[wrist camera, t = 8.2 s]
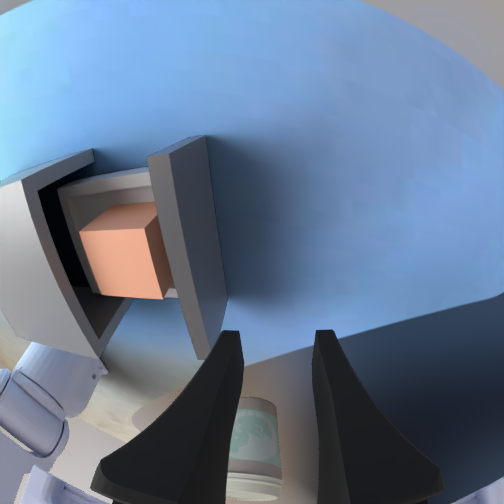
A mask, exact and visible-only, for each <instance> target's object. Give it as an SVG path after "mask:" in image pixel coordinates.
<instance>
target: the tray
mask: <svg viewBox="0 0 504 504" xmlns="http://www.w3.org/2000/svg"><path fill="white" fill-rule="evenodd" d="M147 163H148V167H142V168H136V169H130V170H124V171H118V172H113V173H108V174H102V175H97V176H92V177H88V178H83V179H79V180H74V181H71V182H69V183H67V184H65V185H63V186H62V187H60V188H58V189H57V192H58V195H59V199H60V203H61V206H62V210H63V213H64V216H65V220H66V223H67V226H68V229H69V232H70V235H71V238H72V241H73V244H74V247H75V249H76V252H77V255H78V257H79V260H80V263H81V265H82V268H83V270H84V273H85V275H86V278H87V280H88V282H89V285H90V287H91V289H92V292H93V293H96V294H101V291H100V289H99V286H98V284H97V281H96V279H95V276H94V274H93V271H92V268H91V266H90V263H89V260H88V257H87V254H86V252H85V249H84V246H83V243H82V240H81V236H80V233H79V231H81V230H82V229H83V228H84V227H85V226H87V225H88V224H89V223H90V222H91V221H93V220H94V219H95V218H96V217H98V216H99V215H100V214H101V213H103V212H104V211H105V210H107V209H108V208H109V207H110V206H112V205H121V204H132V203H144V202H155V205H156V210H157V215H158V219H159V224H160V228H161V232H162V237H163V241H164V245H165V249H166V253H167V257H168V261H169V265H170V269H171V273H172V277H173V281H172V283H171V285H170V287H169V289H168V291H167V293H166V295H165V297H171V298H179V302H180V305H181V308H182V312H183V315H184V318H185V322H186V325H187V328H188V331H189V335H190V338H191V341H192V344H193V347H194V350H195V353H196V356H197V359H198V360H205V359H206V358H207V356H208V355H209V353H210V351H211V350H212V348H213V346H214V344H215V343H216V341H217V339H218V337H219V335H220V331H221V326H222V322H223V318H224V314H225V310H226V306H227V301H228V295H227V289H226V282H225V276H224V269H223V263H222V256H221V249H220V242H219V235H218V228H217V221H216V214H215V206H214V199H213V191H212V183H211V175H210V167H209V158H208V150H207V141H206V135H202V136H194V137H189V138H186V139H184V140H182V141H180V142H177V143H175V144H173V145H171V146H169V147H166V148H164V149H162V150H160V151H158V152H156V153H154V154H152V155H150V156H148V157H147Z"/></svg>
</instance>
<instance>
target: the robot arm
mask: <svg viewBox="0 0 504 504" xmlns="http://www.w3.org/2000/svg"><path fill="white" fill-rule="evenodd" d="M243 371H244V359H243V352H242V346H241V339H240V333H239V331H230V330H223V331H222V332H221V333H220V335H219V337H218V339H217V341H216V343H215V344H214V346H213V348H212V350H211V351H210V353H209V355H208V356H207V358H206V359H205V361H204V362H203V364H202V365H201V367H200V368H199V370H198V371H197V373H196V374H195V376H194V377H193V378H192V380H191V381H190V382H189V383H188V385H187V386H186V387H185V389H184V390H183V391H182V392H181V394H180V395H179V396H178V397H177V398H176V399H175V401H174V402H173V403H172V404H171V405H170V406H169V407H168V408H167V409H166V411H164V412H163V413H162V414H161V415H160V416H159V417H158V418H157V419H156V420H155V421H154V422H153V423H152V424H151V425H149V426H148V427H147V428H146V429H145V430H144V431H142V432H141V433H140V434H138V435H137V436H136V437H135V438H133V439H132V440H131V441H129V442H128V443H127V444H125V445H124V446H122V447H121V448H119V449H117V450H116V451H114V452H113V453H111V454H110V455H108V456H106V457H104V458H103V459H101V461H100V463H99V465H98V467H97V469H96V471H95V475H94V477H93V480H92V483H91V487H90V488H91V490H92V491H94V492H97V493H99V494H101V495H103V496H105V497H108V498H110V499H112V500H113V503H112V504H225V501H226V486H227V474H228V463H229V453H230V444H231V437H232V431H233V427H234V422H235V418H236V413H237V408H238V404H239V399H240V394H241V389H242V383H243ZM102 374H104V375H107V374H108V370H107V369H106V368H105V366H104V365H103V363H102V361H101V360H100V358H99V359H96V358H91V357H87V356H83V355H79V354H75V353H71V352H67V351H63V350H59V349H56V348H52V347H49V346H45V345H42V344H39V343H36V342H33V341H32V343H31V344H30V346H29V347H28V348H27V350H26V351H25V353H24V354H23V356H22V357H21V359H20V360H19V362H18V363H17V365H16V366H15V368H14V369H13V370H12V371H9V370H8V369H0V426H2V427H3V428H4V429H5V430H6V431H7V432H9V433H10V434H11V435H12V436H14V437H15V438H17V439H18V440H19V441H20V442H22V443H23V444H24V445H26V446H27V447H28V448H30V449H31V450H33V451H34V452H29V451H27V450H25V449H23V448H22V447H20V446H19V445H18V444H16V443H15V442H14V441H13V440H11V439H10V438H9V437H7V436H6V435H5V434H4V433H2V432H1V431H0V504H14V501H15V498H16V495H17V492H18V489H19V486H20V484H21V481H22V478H23V476H24V474H26V473H30V476H29V478H28V481H27V484H26V486H25V489H24V492H23V495H22V498H21V501H20V504H109V503H106V502H103V501H101V500H99V499H97V498H95V497H93V496H90V495H88V494H86V493H84V491H82V490H80V489H78V488H76V487H73V486H72V485H70V484H68V483H66V482H64V481H62V480H60V479H59V478H57V477H55V476H53V475H52V474H50V473H48V472H49V471H50V469H51V468H52V466H53V464H54V462H55V461H56V459H57V457H58V456H59V455H60V454H61V453H62V452H63V450H64V448H65V446H66V444H67V441H68V438H69V426H68V422H67V420H66V419H65V418H72V417H75V416H77V415H79V414H80V413H81V412H82V411H83V410H84V409H85V408H86V406H87V404H88V402H89V400H90V398H91V396H92V393H93V391H94V389H95V387H96V385H97V383H98V381H99V379H100V377H101V375H102ZM312 383H313V393H314V400H315V408H316V416H317V423H318V432H319V482H318V499H317V504H427V499H430V498H432V497H434V496H436V495H439V494H440V493H442V492H444V490H445V485H444V479H443V476H442V473H441V470H440V467H439V466H437V465H436V464H435V463H433V462H432V461H431V460H429V459H428V458H427V457H426V456H425V455H423V454H422V453H421V452H420V451H419V450H418V449H416V448H415V447H414V446H413V445H412V444H411V443H410V442H409V441H408V440H407V439H406V438H405V437H404V436H403V435H402V434H401V433H400V432H399V431H398V430H397V429H396V428H395V427H394V426H393V425H392V423H391V422H390V421H389V420H388V419H387V417H386V416H385V415H384V414H383V413H382V411H381V410H380V409H379V408H378V406H377V405H376V404H375V402H374V401H373V400H372V398H371V397H370V395H369V394H368V392H367V391H366V389H365V388H364V386H363V385H362V383H361V382H360V380H359V378H358V377H357V375H356V373H355V372H354V370H353V368H352V367H351V365H350V363H349V361H348V359H347V358H346V356H345V354H344V352H343V350H342V348H341V346H340V344H339V342H338V339H337V337H336V335H335V332H334V331H333V330H316V334H315V342H314V351H313V358H312ZM452 504H504V477H502V478H500V479H499V480H497V481H495V482H494V483H492V484H490V485H488V486H487V487H484V488H482V489H480V490H478V491H476V492H474V493H472V494H470V495H468V496H466V497H464V498H462V499H460V500H458V501H457V502H454V503H452Z"/></svg>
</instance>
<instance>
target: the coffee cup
mask: <svg viewBox="0 0 504 504" xmlns="http://www.w3.org/2000/svg"><path fill="white" fill-rule="evenodd" d="M284 484H285V482H284V481H283V480H282V473H281V459H280V448H279V435H278V423H277V413H276V407H275V405H274V404H273V403H271V402H270V401H267V400H264V399H261V398H255V397H242V398H240V399H239V404H238V408H237V413H236V418H235V422H234V427H233V431H232V437H231V444H230V453H229V463H228V474H227V486H226V498H229V499H236V500H246V501H269V500H275V499H278V498H279V495H280V493H281V490H283V488H284V487H283V485H284Z"/></svg>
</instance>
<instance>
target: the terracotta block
mask: <svg viewBox="0 0 504 504" xmlns="http://www.w3.org/2000/svg"><path fill="white" fill-rule="evenodd" d="M79 233H80V236H81V240H82V243H83V246H84V249H85V252H86V254H87V257H88V260H89V263H90V266H91V268H92V271H93V274H94V276H95V279H96V281H97V284H98V286H99V289H100V291H101V294H102V295H108V296H120V297H133V298H148V299H164V297H165V295H166V293H167V291H168V289H169V287H170V285H171V283H172V281H173V277H172V273H171V269H170V265H169V261H168V257H167V253H166V249H165V245H164V241H163V237H162V232H161V228H160V224H159V219H158V215H157V210H156V205H155V202H144V203H132V204H121V205H112V206H110V207H109V208H108V209H107V210H105V211H104V212H103V213H101V214H100V215H99V216H98V217H96V218H95V219H94V220H93V221H91V222H90V223H89V224H88V225H87V226H85V227H84V228H83V229H82V230H81V231H79Z"/></svg>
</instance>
